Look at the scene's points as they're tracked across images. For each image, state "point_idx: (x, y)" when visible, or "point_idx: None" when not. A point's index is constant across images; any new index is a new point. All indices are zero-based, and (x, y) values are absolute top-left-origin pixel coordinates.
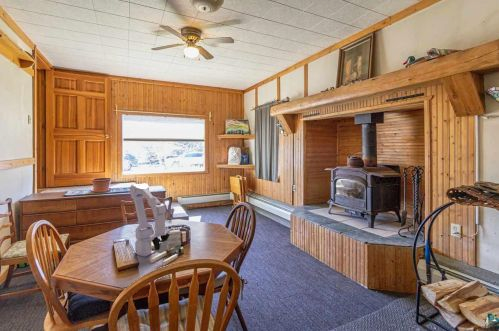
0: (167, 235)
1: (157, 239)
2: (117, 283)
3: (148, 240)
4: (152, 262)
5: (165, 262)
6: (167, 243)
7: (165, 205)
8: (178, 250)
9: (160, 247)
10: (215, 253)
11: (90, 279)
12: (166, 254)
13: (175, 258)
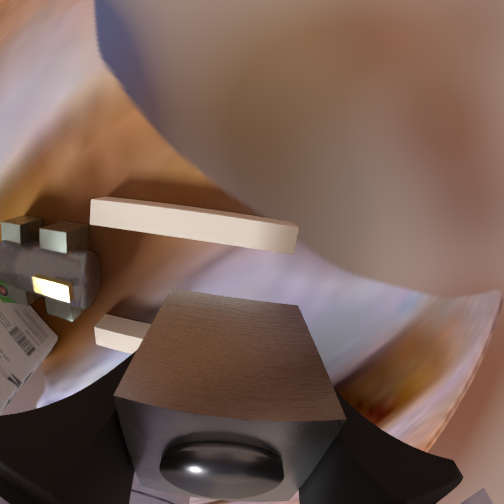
0: (39, 484)
1: (429, 501)
2: (482, 331)
3: (147, 497)
4: None
5: (270, 221)
6: (31, 370)
7: None
8: (43, 229)
9: (317, 361)
10: (29, 15)
11: (437, 426)
12: (106, 316)
13: (131, 199)
